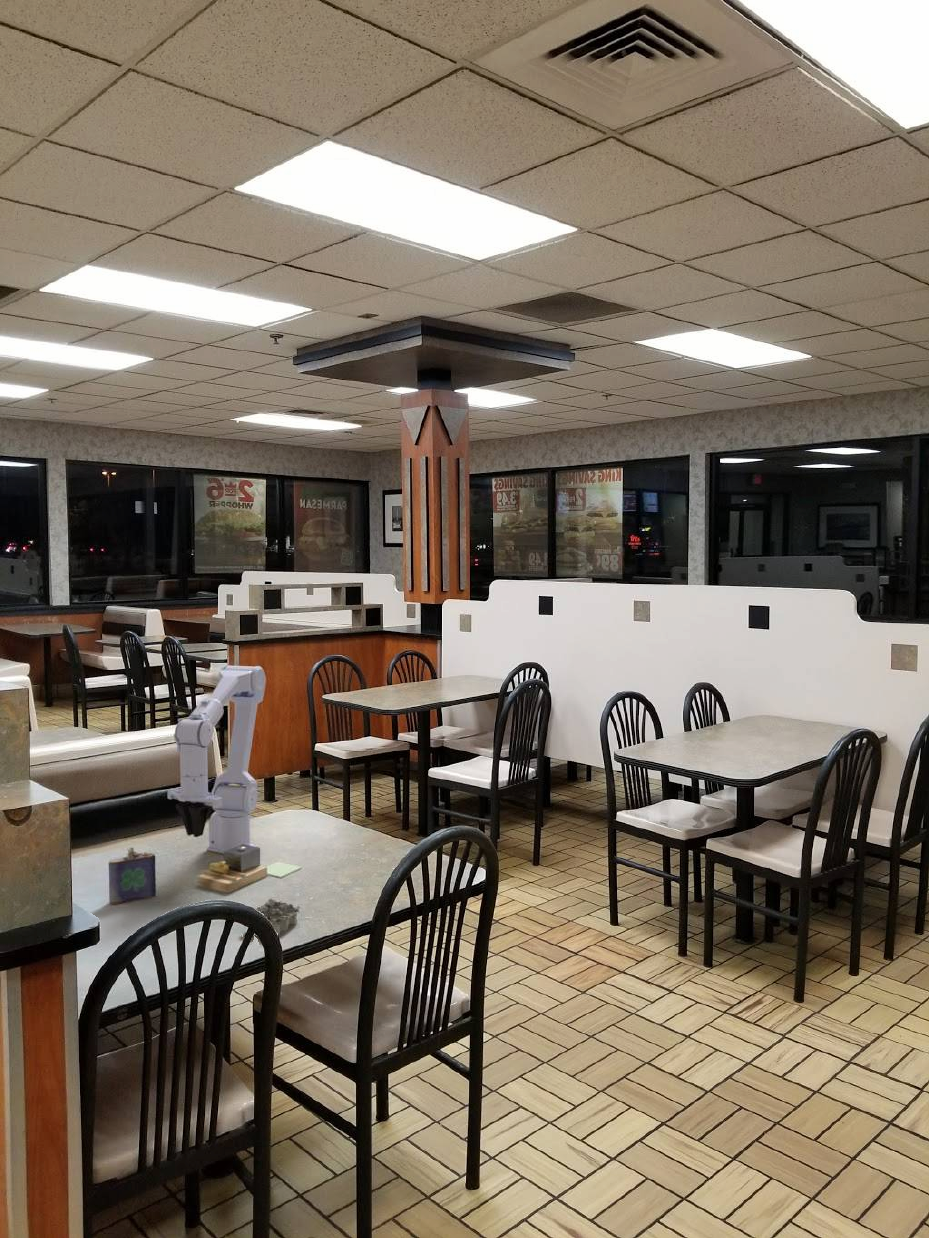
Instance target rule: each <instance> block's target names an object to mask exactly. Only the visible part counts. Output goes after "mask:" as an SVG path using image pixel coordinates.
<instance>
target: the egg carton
mask: <svg viewBox="0 0 929 1238" xmlns="http://www.w3.org/2000/svg"><path fill="white" fill-rule="evenodd" d="M300 908H301V907H300V906H296V907H294V905H293V904H292V903H289V904H288V903H286V902H283V901H281V900H280V901H277V900H274V899H273V898H269V899H268V900H267V901H266V902H265V903H264V904H263V905H261V906H258V907H257V908H256V909H255V910H258V911H260V912H261V913H263V914H264V916H265V917H267V918H270V923H271V924H272V925H273V927H274V929H275V930H276V932H277V933H278V935H279V937H280V936H281V932H282V931H283V932H285V931H288V930H289V925H296V924H297V923H298V919H297V918H298V917H297V916H298V913H300Z"/></svg>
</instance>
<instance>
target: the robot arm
mask: <svg viewBox="0 0 929 1238" xmlns="http://www.w3.org/2000/svg"><path fill="white" fill-rule="evenodd" d="M265 673H266V672H265V671H264V669H263V667H262V666H260V665H255V666H252V665H251V666H247V665H246V666H245V665H229V664H223V666H222V667H221V668H220V670H219V672H218V676H217V677H218V678H217V679H218V680H217V682H218V683H217V684H216V686H215V688H214V689H213V692H212V693H211V695H210V696H209V697H206V698H203V699H202V700H200V702H199V703H198V704H197V706H196V707H195V708H194V710H193V711H192V712H191V714H190V715H189V716H188V717H187V719H185V718H183V719H181V720H180V721H179V722H178V723H177V724H176V725H175V726H176V727H175V728H174V729H175V730H174V734H173V737H174V741H175V744H176V748H177V750H176V752H177V753H178V754H179V765H180V767H179V768H180V774H179V775H180V788H171V789H167V791H166V792H167V799H168V800H173V799H174V800H178V801H179V803H177V804H175V809H176V810H177V812H178V813H179V816H180V817H181V819H182V822H183V825H184V828H185V833H186V836H193V838H198V837H201V836H203V835H204V831H205V827H206V824H207V820H208V817H209V815H210V814H211V811H212V810H214V812H213V813H212V814H211V815H210V818H209V822H208V846H207V847H206V851H211V852H215V853H220V854H223V855H224V851H227V850H229V849H232V848H234V847H237V846H239V845H242V844H245V845H250V846H254V847H259V845H258V844H254V843H251V813H252V812H253V811H254V810H255V809H256V807H257V805H258V799H259V798H258V796H259V795H258V782H257V780H255V778H254V777H253V776H252V775H251V774H250V773H249V765H250V758H251V754H252V753H251V752H252V745H253V739H254V738H253V737H254V732H255V724H256V717H257V711H258V705H259V704H260V703H262V702H263V701H264V695H265V690H266V682H267V678H266V674H265ZM229 701H230V702H232V703H234V705H235V710H234V711H235V712H234V718H233V725H232V733H231V738H230V744H229V745H230V746H229V751H228V758H227V763H226V770H225V771H224V772H223V773H221V774H220V775H219V776H218V777H216V778H215V781H214V786H213V788H212V790H211V792H210V791H209V785H208V784H209V777H208V774H209V772H208V769H209V766H208V764H209V762H208V746H209V745H210V744H211V742H212V740H213V739H212V738H213V734H214V732H215V727H216V725H217V724H218V722H219V721H220V720H221V718H222V717H223V715H224V710H225V709H224V706H225V705H226V704H227V703H228V702H229ZM243 785H244V786H243Z"/></svg>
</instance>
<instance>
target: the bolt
mask: <svg viewBox="0 0 929 1238" xmlns="http://www.w3.org/2000/svg"><path fill="white" fill-rule="evenodd" d="M209 871H211V872H215V873H219V874H223V875H228V874H229V865H226V861H224V860H220V861H219V862H217V861H215V862H212V863H209Z"/></svg>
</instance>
